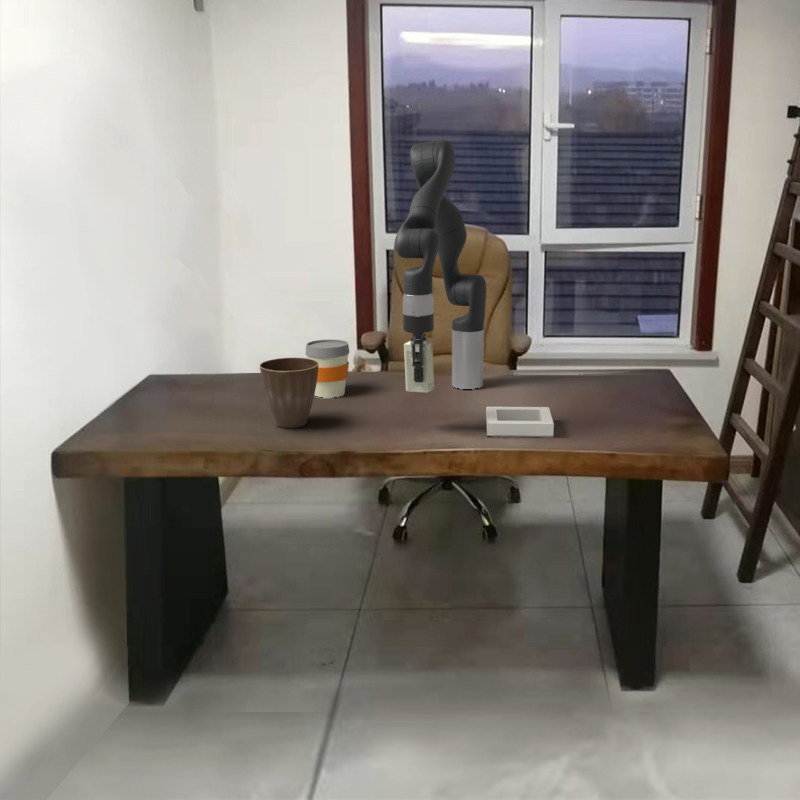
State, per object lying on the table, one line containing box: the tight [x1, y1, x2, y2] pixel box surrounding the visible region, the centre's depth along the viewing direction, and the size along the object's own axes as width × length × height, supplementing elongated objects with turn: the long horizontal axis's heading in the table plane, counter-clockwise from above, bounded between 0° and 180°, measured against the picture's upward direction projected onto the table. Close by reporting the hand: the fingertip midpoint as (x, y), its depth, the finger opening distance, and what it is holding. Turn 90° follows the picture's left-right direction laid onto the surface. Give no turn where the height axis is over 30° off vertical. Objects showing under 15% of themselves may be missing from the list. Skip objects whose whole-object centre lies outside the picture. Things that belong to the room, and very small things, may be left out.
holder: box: [485, 406, 555, 439], centre depth 226 cm, size 15×16×4 cm
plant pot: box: [259, 357, 319, 429], centre depth 231 cm, size 15×15×16 cm
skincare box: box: [403, 340, 435, 394], centre depth 224 cm, size 6×4×12 cm
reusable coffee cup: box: [305, 339, 350, 399], centre depth 260 cm, size 13×13×15 cm
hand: (419, 378), depth 225 cm, fingers closed on skincare box, 5 cm apart
